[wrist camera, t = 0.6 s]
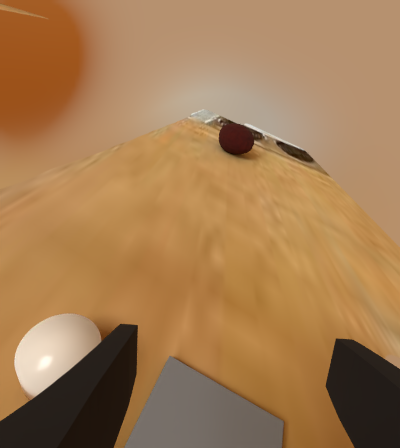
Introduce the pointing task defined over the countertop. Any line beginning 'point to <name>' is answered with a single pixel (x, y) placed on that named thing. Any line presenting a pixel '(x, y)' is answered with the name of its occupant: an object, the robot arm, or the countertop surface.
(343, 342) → the robot arm
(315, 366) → the countertop surface
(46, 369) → the cream egg shape
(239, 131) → the maroon ball
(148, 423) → the plate
